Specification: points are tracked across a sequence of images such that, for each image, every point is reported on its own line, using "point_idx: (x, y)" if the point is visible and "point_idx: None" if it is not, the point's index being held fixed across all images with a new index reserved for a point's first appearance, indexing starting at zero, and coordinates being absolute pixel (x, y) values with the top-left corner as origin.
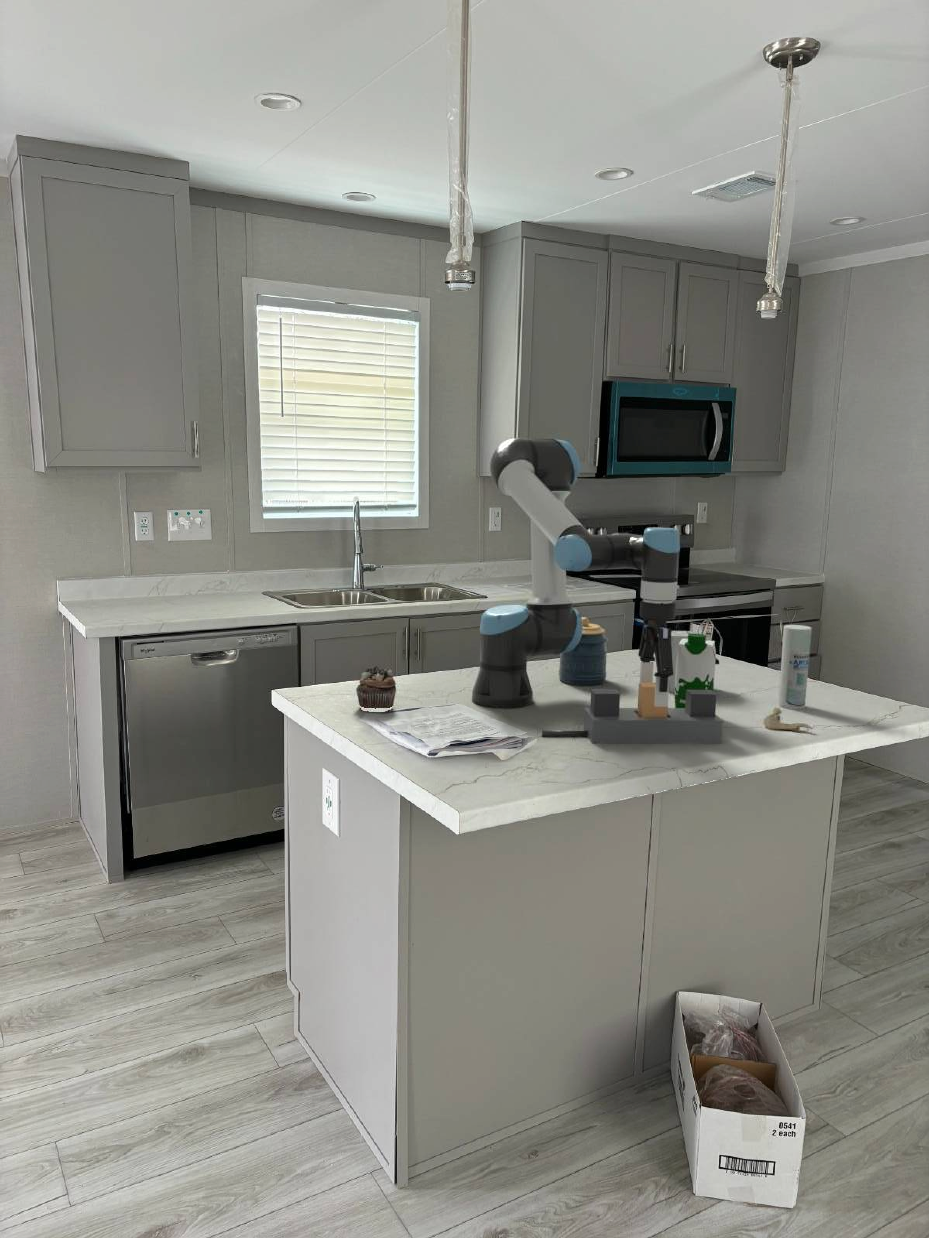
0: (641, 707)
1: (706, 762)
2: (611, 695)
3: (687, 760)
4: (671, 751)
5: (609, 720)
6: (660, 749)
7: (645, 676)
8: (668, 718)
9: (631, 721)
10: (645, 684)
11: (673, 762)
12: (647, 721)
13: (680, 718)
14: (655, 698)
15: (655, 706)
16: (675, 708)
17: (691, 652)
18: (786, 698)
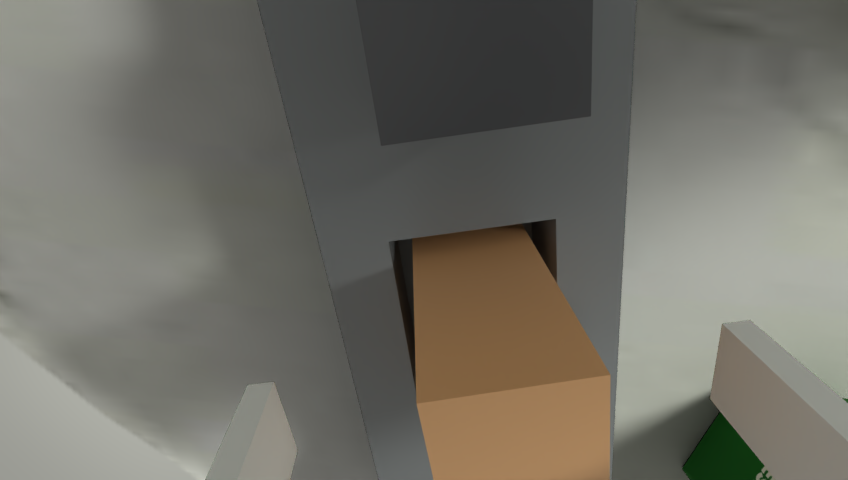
0: (444, 282)
1: (144, 414)
2: (363, 41)
3: (141, 358)
4: (246, 315)
5: (262, 18)
6: (262, 276)
7: (813, 453)
8: (397, 387)
9: (307, 184)
10: (538, 423)
11: (88, 307)
12: (328, 279)
13: (407, 437)
14: (228, 433)
15: (247, 387)
16: None
17: None
18: None
